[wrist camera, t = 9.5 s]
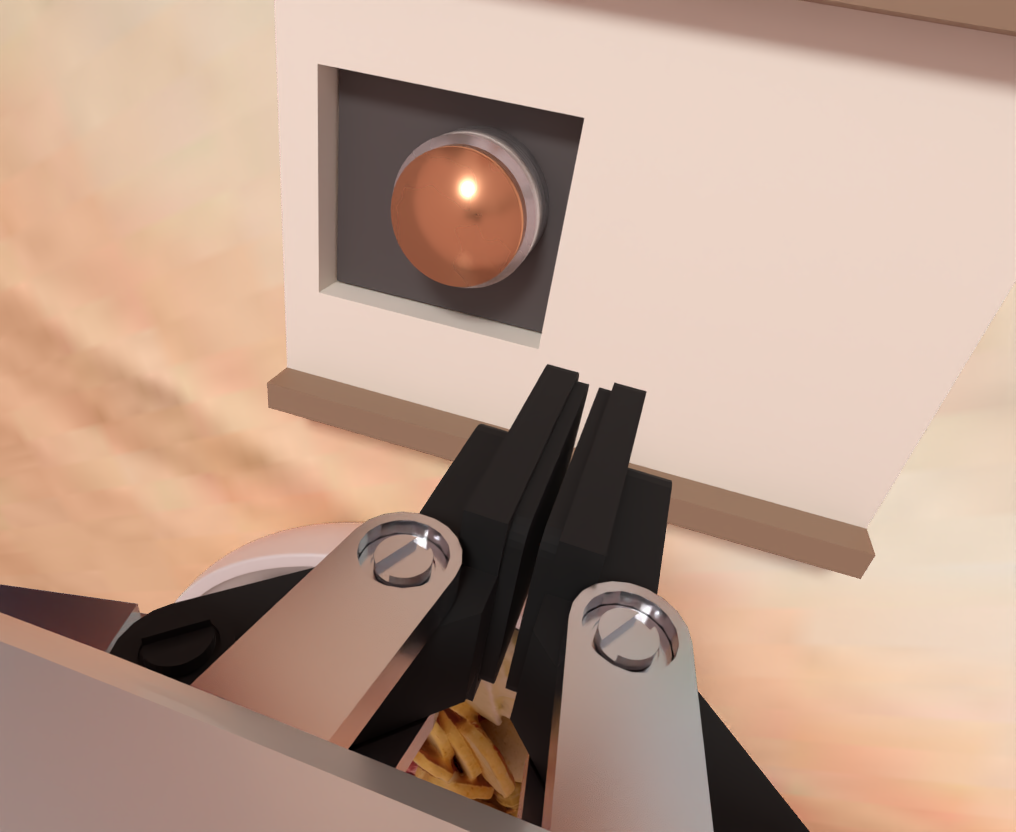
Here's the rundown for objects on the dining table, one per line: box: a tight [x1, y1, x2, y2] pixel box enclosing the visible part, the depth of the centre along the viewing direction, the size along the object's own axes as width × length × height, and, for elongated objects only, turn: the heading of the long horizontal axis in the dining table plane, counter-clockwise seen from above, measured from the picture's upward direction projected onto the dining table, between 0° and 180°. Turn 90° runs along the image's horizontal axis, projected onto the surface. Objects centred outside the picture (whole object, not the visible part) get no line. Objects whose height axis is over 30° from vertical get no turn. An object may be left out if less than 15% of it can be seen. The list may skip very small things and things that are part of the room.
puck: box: [391, 126, 549, 288], centre depth 22 cm, size 5×5×3 cm
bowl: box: [175, 522, 528, 818], centre depth 36 cm, size 30×30×8 cm
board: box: [267, 0, 1016, 579], centre depth 22 cm, size 24×18×3 cm
